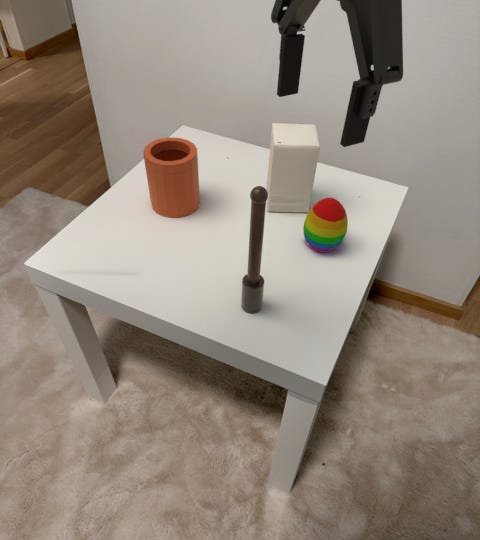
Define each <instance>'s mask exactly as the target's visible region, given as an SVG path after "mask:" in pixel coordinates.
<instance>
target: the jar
mask: <svg viewBox="0 0 480 540" xmlns="http://www.w3.org/2000/svg"><path fill="white" fill-rule="evenodd" d="M142 154H143V160H144V166H145V174H146V180H147V187H148V193H149V200H150V203H151V208H152V210H153V211H154V212H155V213H156V214H158V215H159V216H162V217H166V218H171V219H173V218H174V219H175V218H184V217H186V216H190V215H191V214H193V213H195V212H196V211H197V210H198V209H199V207H200V203H201V202H200V199H201V197H200V196H201V195H200V176H199V175H200V174H199V158H198V148H197V146H196V145H195V143H194V142H192V141H190V140H188V139H185V138H182V137H170V136H169V137H162V138H157V139H154V140H152V141H150V142H149V143H148V144H147V145H146V146H145V147H144V149H143V152H142Z"/></svg>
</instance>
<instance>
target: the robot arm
mask: <svg viewBox="0 0 480 540" xmlns="http://www.w3.org/2000/svg"><path fill="white" fill-rule="evenodd" d="M321 1H322V0H275V1H274V4H273V7H272V11H271V14H270V20H271V22H272V23H273V24H277V26H278V27H277V28H278V33H279V35H280V45H279V54H278V56H279V57H278V59H279V65H278V66H279V67H278V75H277V76H278V77H277V88H276V96H278V97H279V98H283V97H288V96H292V95H296V94H299V87H300V80H301V72H302V71H301V70H302V63H303V56H304V46H305V38H306V35H305V34H303V33H300V32H305V31H306V27H305V25H306V23H307V22H308V20H309V18H310V17H311V15H312V14H313V13H314V11H315V10H316V8H317V7H318V5H319V4H320V2H321ZM336 1H337V2H339V6H340V8H341V10H342V11H343V12H345V13H346V18H347V23H348V26H349V27H348V28H349V32H350V37H351V42H352V48H353V52H354V57H355V61H356V66H357V70H358V75H359V79H357V80H354V81H352V86H351V90H350V95H349V101H348V105H347V110H346V114H345V119H344V123H343V128H342V133H341V137H340V142H339V144H340V145H341V146H342V147H343V148H347V147H350V146H354V145H357V144H362V143H365V140H366V135H367V131H368V128H369V123H370V120H371V118H372V117H374V115H375V114H376V112H377V108H378V103H379V100H380V95H381V92H382V88H383V86H385V85H389V84H394V83H398V82H401V81H402V79H403V78H404V49H403V48H404V42H403V0H336ZM372 66H373V69H372Z"/></svg>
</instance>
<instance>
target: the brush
mask: <svg viewBox="0 0 480 540" xmlns="http://www.w3.org/2000/svg"><path fill="white" fill-rule="evenodd" d="M249 193H250V194H249V198H250V201H251V202H250V219H249V236H248V237H249V239H248V256H247V257H248V258H247V274H245V275H244V276H243V277H242V279H241V299H240V300H241V301H240V307H241V310H243V311H244V312H245V313H248V314H256V313H257V314H258V312H261V310H262V308H263V302H264V301H263V300H264V292H265V291H264V290H265V279H264V277H263V276H262V275H261V267H262V255H263V244H264V231H265V219H266V208H267V207H266V206H267V198H268V192H267V188H266V187H264V186H262V185H256V186H254V187H253V188H252V189H251V191H250V192H249Z"/></svg>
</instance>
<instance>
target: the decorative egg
mask: <svg viewBox="0 0 480 540" xmlns="http://www.w3.org/2000/svg"><path fill="white" fill-rule="evenodd" d="M348 223H349V222H348V214H347V212H346V209H345V207H344V205H343V204H342V203H341V202H340V201H339V200H338V199H336V198H334V197H325V198H322V199H320V200H319V201H318V200H317V202H315V203H314V204H313V205H312V206H311V207H310V208H309V212H308V213H306V216H305V219H304V221H303V227H302V228H303V236H304V240H305V242H306V244H307V245H308V246H309V247H310V248H311V249H312V250H314V251H316V252H320V253H328V252H332V251H334V250H335V249H337V248H338V247H339V246H340V245H341V244H342V243H343V241H344V240H345V238H346V235H347V233H348V227H349V226H348V225H349V224H348Z"/></svg>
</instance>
